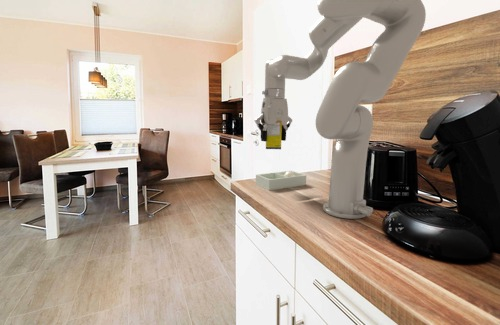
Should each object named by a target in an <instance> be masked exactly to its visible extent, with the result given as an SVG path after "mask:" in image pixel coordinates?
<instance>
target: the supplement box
mask: <svg viewBox="0 0 500 325" xmlns="http://www.w3.org/2000/svg"><path fill="white" fill-rule="evenodd" d="M266 131H267V141H265V150H282V140H281V133H282V121H276V124H275V125H268V127H267V129H266Z"/></svg>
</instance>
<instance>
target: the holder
mask: <svg viewBox="0 0 500 325" xmlns="http://www.w3.org/2000/svg"><path fill="white" fill-rule="evenodd" d="M289 171H290V172H293V173H294V174H295V176H293V177H286V176H284V174H285V173H286V172H289ZM255 185H257V186H259V187H261V188H263V189H265V190H267V191H274V190H275V191H276V190H282V189H287V188H295V187H302V186H306V185H307V174H304V173H301V172H298V171H297V172H296V171H293V170H287V171H279V172H278V171H277V172H269V173H268V172H267V173H259V174H255Z"/></svg>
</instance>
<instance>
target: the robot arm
mask: <svg viewBox="0 0 500 325" xmlns="http://www.w3.org/2000/svg"><path fill="white" fill-rule="evenodd" d="M317 10H318V13H319V14H320V15H321V16H320V17H319V18H318V19H317V20H316V21H315V22H314V23H313V24H312V25H311V27H310V28H309V31H308V35H309V36H308V37H309V39H310V41H311V43H312V45H313V48H312V49H311V50H310V52H309V53H307V55H305V56H304V57H299V56H294V55H288V54H283V55H280V56H278V57H276V58H275V59H268V60H267V61H266V62H265V67H264V68H265V70H264V73H265V74H264V76H265V77H264V90H262V95H264V97H263V100H262V103H261V111H260V115H258V116H257V117H256V118H254V122H255V124H256V126H257V128H258V129H259V131H260V140H261V142H266V141H267V131H266V129H267V127H268V125H275V124H276V121H282V133H281V141H283V142H285V141H286V140H287V131H288V129H289V128H290V127H291V124H292V123H293V119H292V118H291V117H290V116H289V107H288V106H289V105H288V100H287V98H286V96H285V95H286V80H287V79H288V80H296V81H298V80H299V81H304V80H306V79H308V78H310V77H311V76H312V75H314V74H315V73H316V72H317V71H318V70H319V69H320V68H321V67H323V64H324V63H325V61H326V59H327V57H328V53H329V49H330V48H331V47H333V45H335V44H336V43H337V42H338V41H339V40H340V39H342V38H343V37H344V35H346V34H347V33H348V32H349V31H350V30H351V29H352V28H353V27H355V26H356V25H357V24H358V23H359V22H360V21H361V20H362V19H363V18H364V19H367V20H370V21H373V22H374V23H378V24H380V25H382V26H384V30H383V32H382V33H381V34H380V35H379V36H378V37H377V38H376V39H375V41H374V42H373V43H372V45H371V47H370V50H369V51H368V53H367V56H366V57H365V59H364V61H358V60H356V61H349V62H348V63H345V64H344V65H342V66H341V67H340V68H339V69H338V70H337V71H336V72H335V74H334V75H333V78H332V79H331V81H330V84H329V86H328V88H327V90H326V92H325V95H324V97H323V99H322V102H321V104H320V106H319V109H318V111H317V113H316V118H315V129H316V131H317V133H318V134H319V135H320V136H321V138H324V139H327V140H335V142H334V144H333V147H332V152H331V160H330V161H331V162H330V164H331V165H330V178H329V192H328V201H327V202H325V203H324V204H323V205H322V210H323V211H324V212H325V213H326V214H327V215H330V216H333V217H335V218H341V219H349V220H353V219H354V220H355V219H356V220H357V219H358V220H359V219H362V218H365V217H371V215H372V213H373V211H374V208H373V207H371V206H368V205H367V200H366V199H364V190H365V181H366V167H367V160H368V159H367V158H368V149H369V143H370V139H371V137H372V136H371V135H372V132H373V127H374V118H373V115H372V112H371V111H370V110H369V108H367V107H365V106H363V105H361V104H360V103H362V104H364V103H365V104H368V103H369V104H370V103H372V104H373V103H377V102H379V101H380V100H382V99H383V98H384V97H385V96H386V94H387V92H388V91H389V89H390V87H391V85H392V83H393V82H394V80H395V78H396V77H397V75H398V72H400V69H401V68H402V66H403V64H404V62H405V60H406V59H407V57H408V54H409V53H410V52H411V50H412V48H413V46H414V45H415V44H416V42H417V40H418V38H419V37H420V35H421V33H422V31H423V29H424V26H425V24H426V15H427V14H426V8H425V5H424V3H423V1H422V0H317Z"/></svg>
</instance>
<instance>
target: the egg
mask: <svg viewBox="0 0 500 325" xmlns="http://www.w3.org/2000/svg"><path fill="white" fill-rule="evenodd" d="M288 171H289V172H286V173H285V174H284V176H286V177H293V176H295V174H294V173H293V172H290V171H291V170H288Z"/></svg>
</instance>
